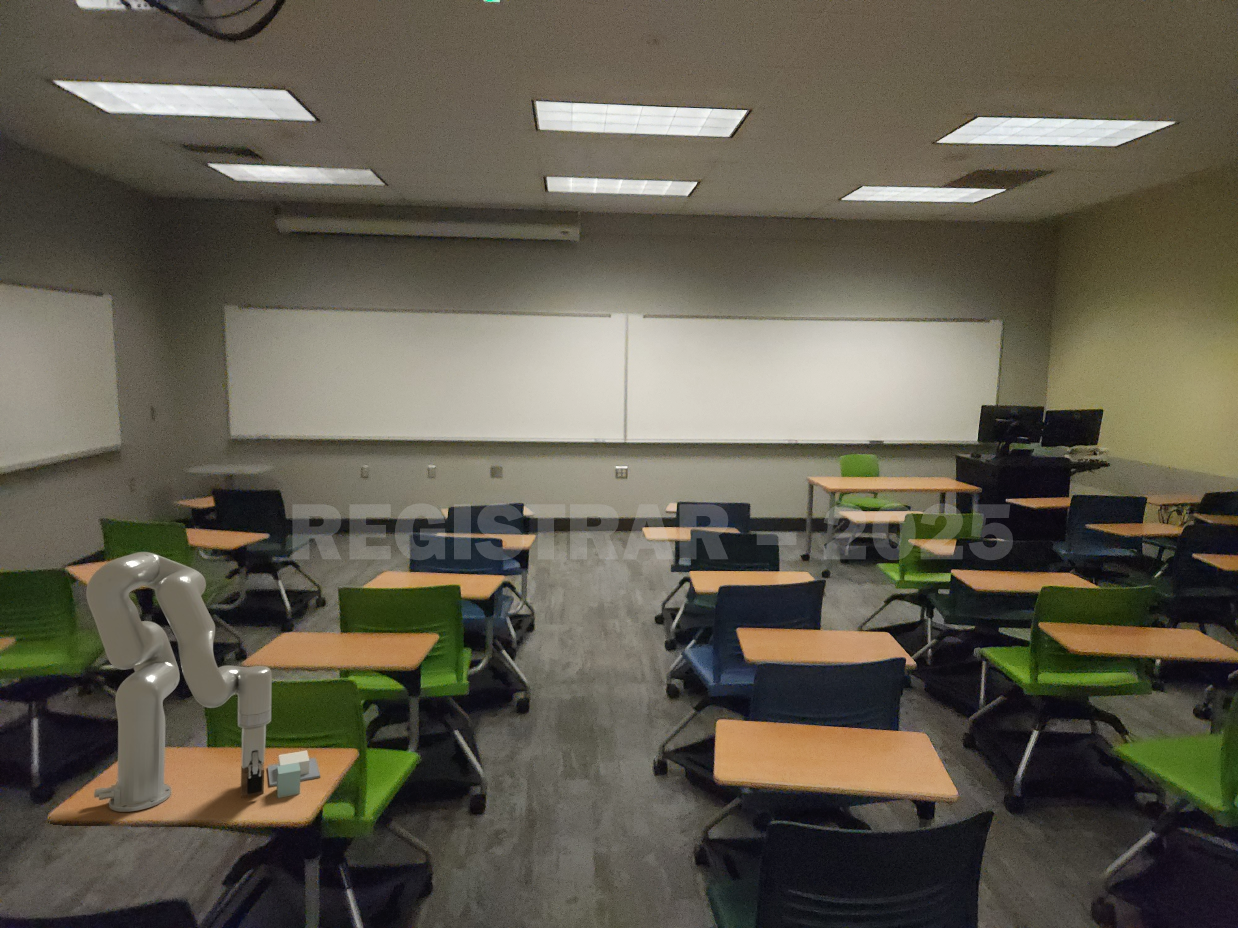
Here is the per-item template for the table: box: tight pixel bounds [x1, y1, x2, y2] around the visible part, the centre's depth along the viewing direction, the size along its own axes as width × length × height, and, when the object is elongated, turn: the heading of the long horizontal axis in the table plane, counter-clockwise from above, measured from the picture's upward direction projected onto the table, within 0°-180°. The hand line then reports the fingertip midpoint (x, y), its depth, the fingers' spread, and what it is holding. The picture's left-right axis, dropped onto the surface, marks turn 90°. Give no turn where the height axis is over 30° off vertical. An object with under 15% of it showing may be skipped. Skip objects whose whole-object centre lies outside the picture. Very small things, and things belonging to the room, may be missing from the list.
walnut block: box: [240, 764, 265, 798], centre depth 175 cm, size 5×5×6 cm
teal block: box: [276, 762, 301, 799], centre depth 176 cm, size 5×5×6 cm
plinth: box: [267, 750, 321, 788], centre depth 186 cm, size 12×12×4 cm
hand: (254, 783), depth 176 cm, fingers open, 9 cm apart
